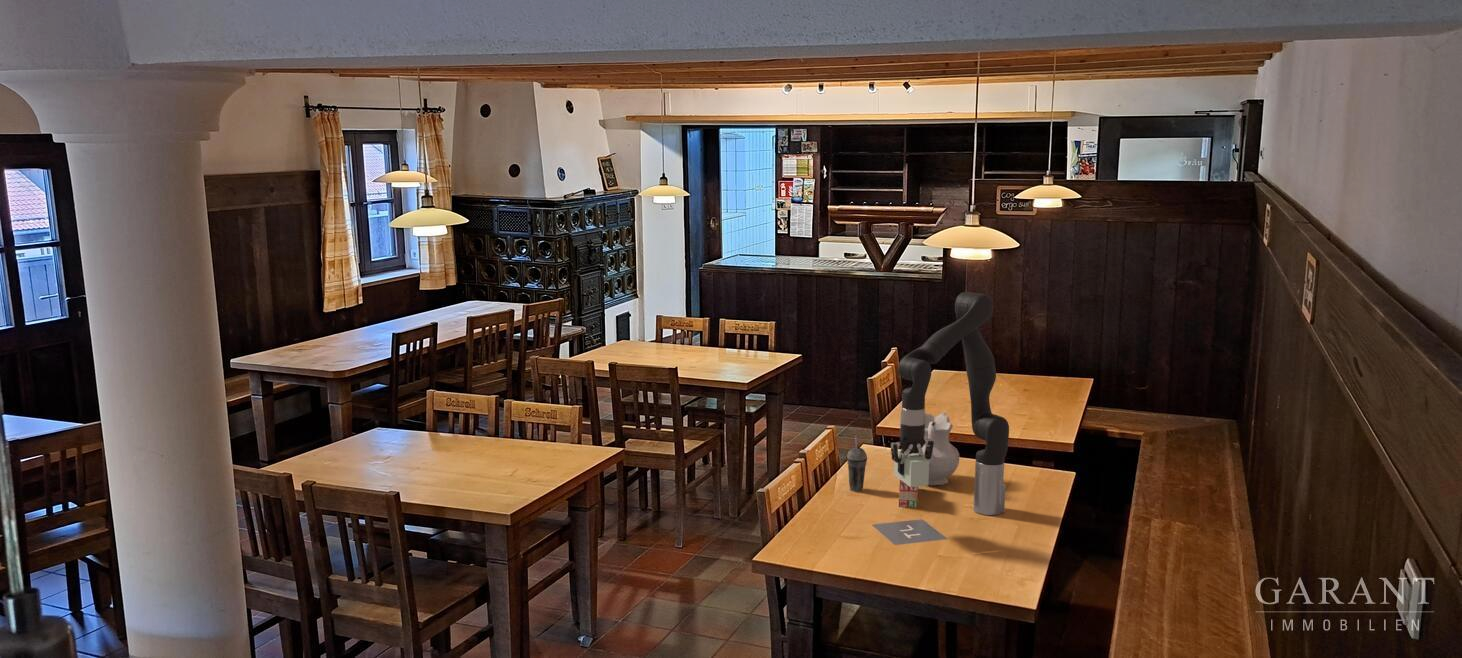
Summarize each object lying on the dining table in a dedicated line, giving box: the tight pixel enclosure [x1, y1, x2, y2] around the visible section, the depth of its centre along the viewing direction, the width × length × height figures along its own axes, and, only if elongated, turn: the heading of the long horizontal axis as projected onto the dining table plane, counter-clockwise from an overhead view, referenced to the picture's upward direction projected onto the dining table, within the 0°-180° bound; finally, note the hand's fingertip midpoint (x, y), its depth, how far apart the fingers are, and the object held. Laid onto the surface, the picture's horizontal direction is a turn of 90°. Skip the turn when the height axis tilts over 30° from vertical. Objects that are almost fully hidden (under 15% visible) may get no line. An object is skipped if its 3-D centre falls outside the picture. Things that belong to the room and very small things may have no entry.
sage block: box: [893, 450, 929, 488], centre depth 328 cm, size 6×12×8 cm, turn 16°
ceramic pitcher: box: [922, 411, 960, 486], centre depth 379 cm, size 22×20×25 cm
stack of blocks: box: [898, 479, 919, 509], centre depth 363 cm, size 21×6×12 cm, turn 170°
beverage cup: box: [846, 435, 868, 493], centre depth 370 cm, size 7×7×20 cm
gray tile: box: [871, 518, 948, 546], centre depth 331 cm, size 18×18×1 cm
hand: (911, 473), depth 328 cm, fingers closed on sage block, 6 cm apart
